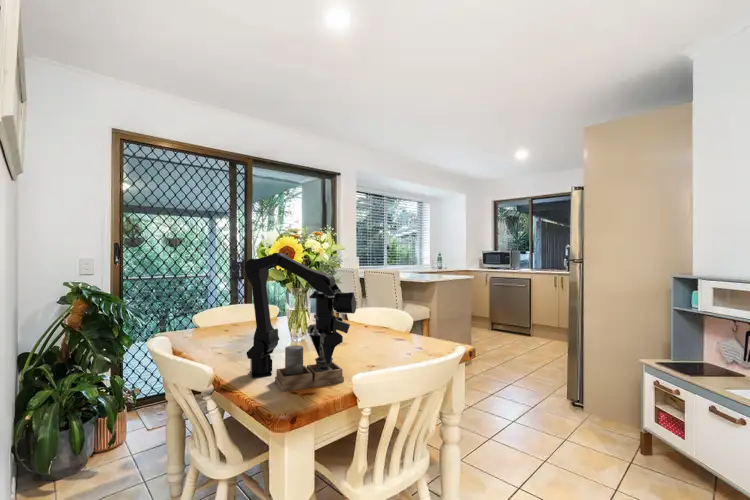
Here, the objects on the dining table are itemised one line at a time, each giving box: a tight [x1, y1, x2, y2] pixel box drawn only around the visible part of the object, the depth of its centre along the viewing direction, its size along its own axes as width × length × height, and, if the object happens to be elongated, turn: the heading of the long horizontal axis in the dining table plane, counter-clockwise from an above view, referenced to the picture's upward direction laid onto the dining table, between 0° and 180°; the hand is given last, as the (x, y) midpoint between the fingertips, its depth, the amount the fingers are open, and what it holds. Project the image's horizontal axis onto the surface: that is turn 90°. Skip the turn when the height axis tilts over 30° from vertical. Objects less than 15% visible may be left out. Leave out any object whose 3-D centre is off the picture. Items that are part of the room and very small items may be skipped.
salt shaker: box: [314, 340, 334, 372], centre depth 124 cm, size 6×6×12 cm
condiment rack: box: [274, 345, 345, 393], centre depth 122 cm, size 20×10×12 cm, turn 116°
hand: (324, 359), depth 124 cm, fingers closed on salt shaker, 8 cm apart
